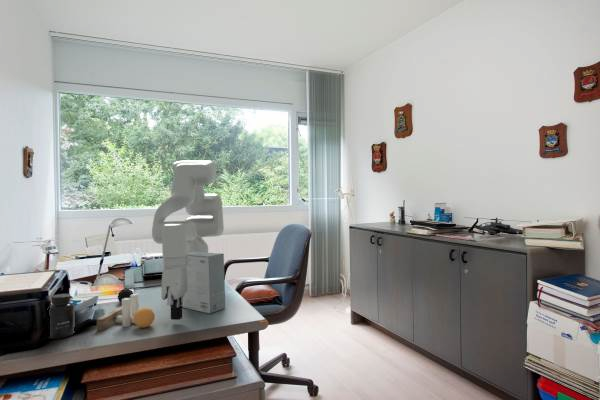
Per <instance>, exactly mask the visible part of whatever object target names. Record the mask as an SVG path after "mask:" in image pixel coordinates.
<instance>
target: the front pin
mask: <svg viewBox="0 0 600 400" xmlns="http://www.w3.org/2000/svg"><path fill="white" fill-rule="evenodd" d="M115 322H116V323H115V324H122V316H117V317H116V319H115ZM131 324H135V322H134V316H131Z"/></svg>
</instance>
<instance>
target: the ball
mask: <svg viewBox="0 0 600 400" xmlns="http://www.w3.org/2000/svg"><path fill="white" fill-rule="evenodd" d="M154 321H155V312H154V311H153V309H152V308H149V307H142V308H140V309H139V310H138V311H137V312H136V313H135V315H134V322H135V323H134V324H135V325H136V326H137V327H139V328H148V327H149V326H151V325H152V324H153V322H154Z"/></svg>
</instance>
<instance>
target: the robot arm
mask: <svg viewBox="0 0 600 400" xmlns="http://www.w3.org/2000/svg"><path fill="white" fill-rule="evenodd" d="M171 168H172V173H173V176H172V183H171V188H170V189H171V190H170V196H169V197H167V198H166V199H165V200H164V201H162V203H161V204H160V205H159V206H158V208H157V209H156V211H155V213H154V216H153V221H152V228H151V236H152V240H153V241H154V243H156V244H158V245H159V244H161V247H162V248H161V249H162V250H161V251H162V253H161V254H162V268H163V269H162V275H161V299H162V300H163V301H164V300H166V304H167V305H169V307H170V319H171V320H173V321H174V320H176V321H177V320H178V321H179V320H182V319H183V307H182V304H183V297H184V295H185V293H186V292H187V289H188V282H187V270H186V266H187V253H190V252H209V246H208V243H207V242H206V241H205V239H203V238H209V237H212V238H213V237H219V236H221V235H223V233H224V227H225V226H224V225H225V224H224V213H223V212H224V211H223V210H224V209H223V202H222V198H221V196H220V195H219V194H218V193H205V191H204V185H205V186H206V185H207V186H208V185H212V184H213V183H214V181H215V179H216V178H217V177H216V176H217V165H216V164H215V162H214V161H213V160H177V161H175V162H173V164H172V166H171ZM183 209H185V211H186V213H187V215H190V217H187V218H186V219H185V220H181V221H180V220H179V221H178V220H176V221H174V220H173V221H172V220H171V221H170V220H169V221H165V220H166V219H167V218H168V217H169V216H170V215H172V214H174V213H176V212H178V211H180V210H183Z"/></svg>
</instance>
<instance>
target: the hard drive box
mask: <svg viewBox="0 0 600 400" xmlns="http://www.w3.org/2000/svg"><path fill="white" fill-rule="evenodd" d="M224 258H225V255H224V253H221V252H210V251H208V252H190V253H187V266H186V270H187V282H188V289H187V292H186V293H185V295H184V297H183V304H182V305H181V306H182V309H188V310H193V311H197V312H201V313H204V314H205V313H206V314H213V313H215V312H219V311H221V310H224V309H225V308H226V289H225V288H226V287H225V286H226V283H225V259H224Z"/></svg>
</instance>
